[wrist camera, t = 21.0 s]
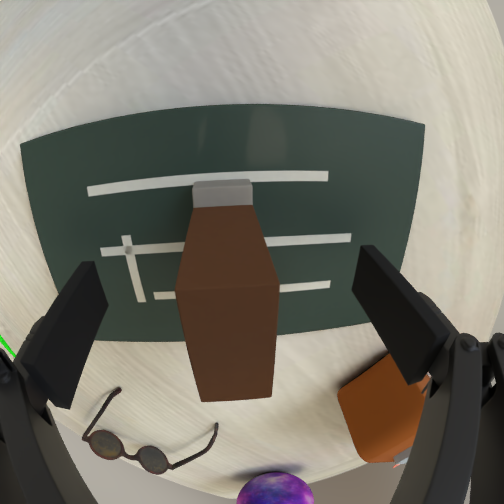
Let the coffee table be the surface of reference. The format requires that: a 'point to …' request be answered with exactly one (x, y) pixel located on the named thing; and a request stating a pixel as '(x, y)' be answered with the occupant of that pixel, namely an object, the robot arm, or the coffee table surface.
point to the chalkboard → (224, 168)
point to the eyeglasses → (147, 456)
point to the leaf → (6, 346)
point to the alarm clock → (383, 412)
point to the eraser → (228, 294)
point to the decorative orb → (275, 490)
